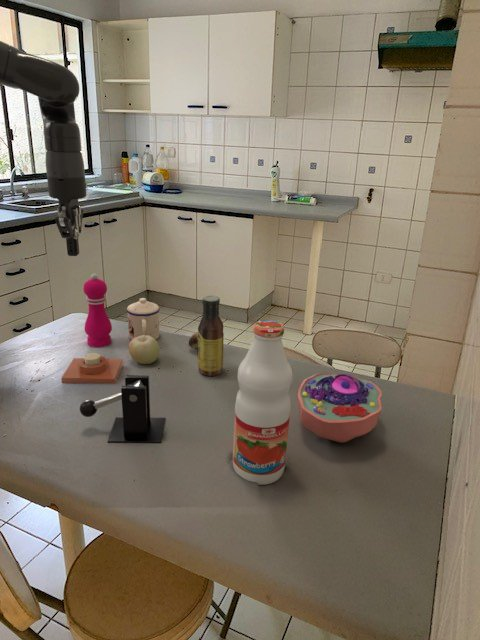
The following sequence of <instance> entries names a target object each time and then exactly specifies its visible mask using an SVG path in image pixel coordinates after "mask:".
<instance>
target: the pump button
mask: <svg viewBox="0 0 480 640" xmlns="http://www.w3.org/2000/svg"><path fill="white" fill-rule="evenodd" d="M100 356H101V354H100V353H98V352H89V353H86V354H85V355H84V356H83V358H84V360H85V365H91V366H93V365H97V364H99V363H100V362H101V360H100Z"/></svg>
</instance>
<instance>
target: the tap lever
mask: <svg viewBox="0 0 480 640" xmlns="http://www.w3.org/2000/svg"><path fill="white" fill-rule="evenodd" d="M127 386H144V385H143V383H142V382H141V380H138V381H136V382H133V383H131V384H128V385H127ZM119 401H122V395H121V391H119V392H118V393H115V394H113V395H110V396H108V397H105V398H102V399H100V400H97V401H94V400H93V399H92V400H91V399H86V400H84V401H83V402H82V403H81V404H80V406H79V412H80V414H81V415H82V416H83V417H84V418H91V417H93V416H95V415H96V413H97V412H98V409H100V408H103V407H105V406H109V405H110V404H113V403H116V402H119Z"/></svg>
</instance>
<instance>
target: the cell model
mask: <svg viewBox="0 0 480 640" xmlns="http://www.w3.org/2000/svg"><path fill="white" fill-rule="evenodd" d="M382 396H383V392H382V390H381V388H380V387H379V386H378V385H377V384H375V383H374V382H372V381H370V380H369V379H367V378H366V379H365V378H362V377H359V376H356V375H352V374H350V373H334V372H318V373H316V374H313V375H311V376H309V377H307V378H305V379H303V381H302V383H301V384H300V385H299V387H298V390H297V397H296V400H297V407H298V411H299V414H300V415H299V419H300V422H301V424H302V425H303V427H305V428H306V429H307V430H308V431H310V432H311V433H313V434H314V435H316V436H318V437H320V438H322V439H325V440H329V441H333V442H336V443H341V444H342V443H343V444H344V443H348V442H350V441H351V440H353V439H355V438H359V437H362V436H364V435H367V434H368V433H370V432H371V431H372V430H373V429H374V428H375V427H376V426H377V425H378V422H379V418H380V415H381V412H382V409H383V407H382V402H381V399H382Z"/></svg>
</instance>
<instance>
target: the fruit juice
mask: <svg viewBox="0 0 480 640" xmlns="http://www.w3.org/2000/svg"><path fill="white" fill-rule="evenodd" d="M252 334H253V336H254V337H253V339H252V342H251V344H250V347H249V348H248V351H247V353H246V355H245V357H243V359H242V361H241V362H240V363H239V366H238V369H237V375H236V376H237V383H238V386H239V389H238V391H237V393H236V397H235V404H234V425H233V445H232V446H233V447H232V467H233V471H235V473H236V474H237V475H238V476H239V477H241V478H242V479H244V480H246V481H249V482H252V483H257V486H264V485H265V486H266V485H269V484H270V485H271V484H273V483H275V482H277V481H278V480H280V478H281V477H282V476H283V474H284V472H285V468H286V458H287V450H288V449H287V448H288V437H289V430H290V429H289V428H290V418H291V410H292V409H291V407H292V406H291V405H292V404H291V403H292V401H291V397H290V394H289V391H290V390H291V387H292V384H293V379H294V375H293V374H294V373H293V369H292V366H291V364H290V362H289V360H288V357H287V354H286V351H285V347H284V344H283V340H282V338H283V337H284V334H285V326H284V325H283V324H282V323H281V322H279V321H277V320H273V319H272V320H271V319H263V320H257V321H256V322H254V323H253V326H252Z"/></svg>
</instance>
